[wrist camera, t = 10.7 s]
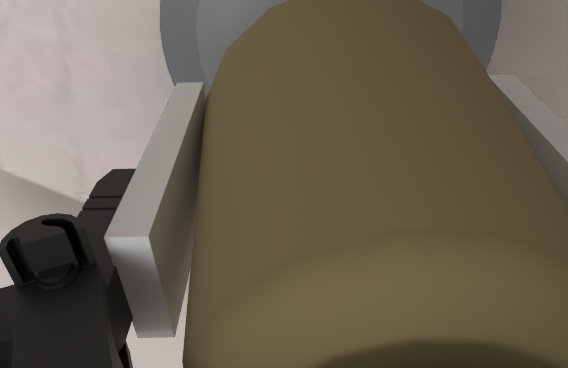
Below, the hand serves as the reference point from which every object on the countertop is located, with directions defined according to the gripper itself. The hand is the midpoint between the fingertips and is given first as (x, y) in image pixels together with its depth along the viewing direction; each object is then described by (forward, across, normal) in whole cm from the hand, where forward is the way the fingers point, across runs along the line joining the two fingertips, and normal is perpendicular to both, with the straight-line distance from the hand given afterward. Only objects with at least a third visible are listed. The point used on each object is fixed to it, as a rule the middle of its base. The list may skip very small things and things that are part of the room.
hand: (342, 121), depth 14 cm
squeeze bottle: (+3, 0, 0) cm, 3 cm away
